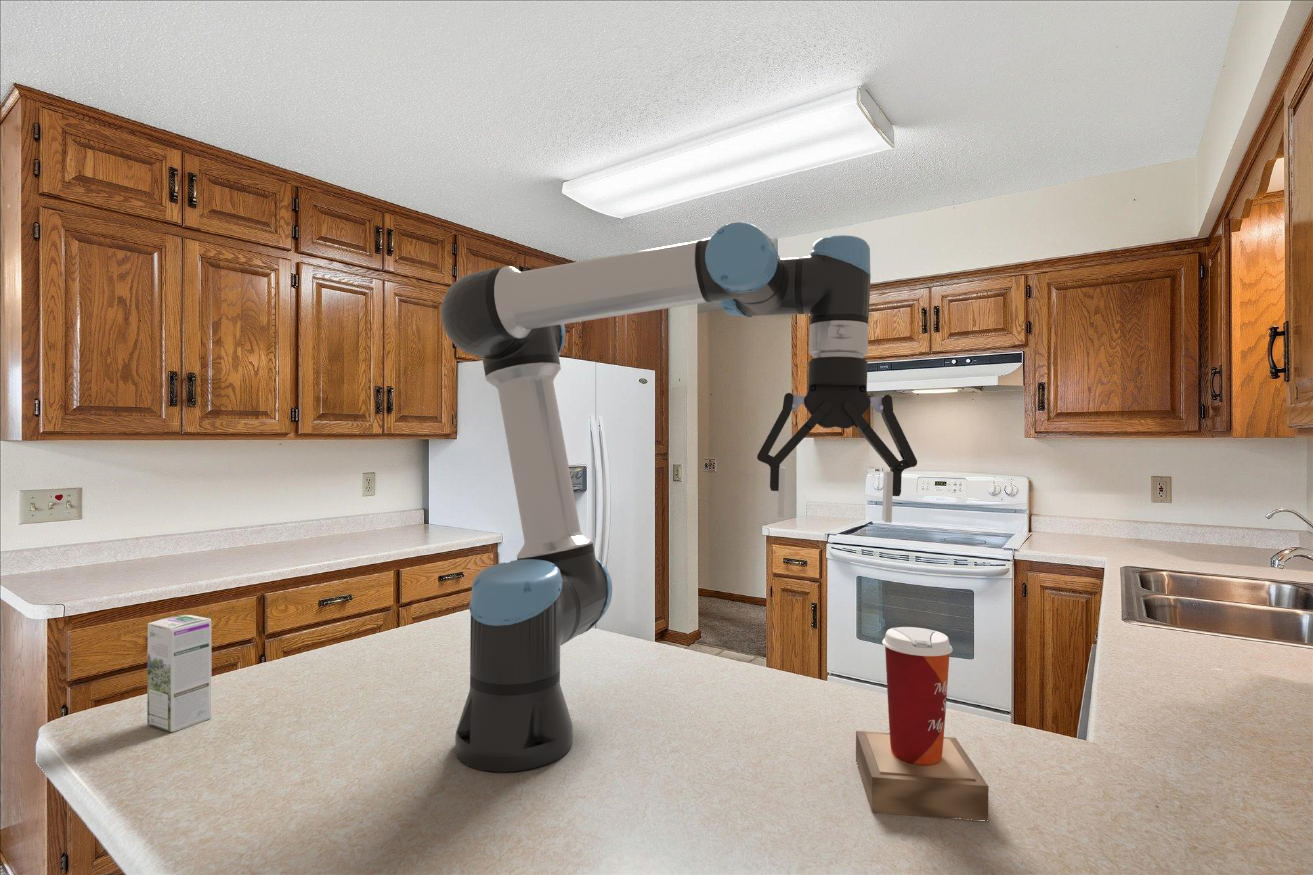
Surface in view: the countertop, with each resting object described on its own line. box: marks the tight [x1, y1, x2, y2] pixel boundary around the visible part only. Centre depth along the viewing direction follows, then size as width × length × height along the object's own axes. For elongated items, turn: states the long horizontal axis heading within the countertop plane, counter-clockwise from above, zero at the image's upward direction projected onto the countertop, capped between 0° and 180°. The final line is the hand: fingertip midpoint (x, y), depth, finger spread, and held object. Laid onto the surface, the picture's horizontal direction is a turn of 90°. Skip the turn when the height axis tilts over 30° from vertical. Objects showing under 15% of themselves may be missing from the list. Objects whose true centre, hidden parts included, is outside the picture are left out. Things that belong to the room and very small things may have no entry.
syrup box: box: [146, 614, 212, 733], centre depth 95 cm, size 6×6×14 cm
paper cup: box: [882, 626, 953, 766], centre depth 79 cm, size 8×8×14 cm
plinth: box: [855, 730, 989, 821], centre depth 79 cm, size 12×12×4 cm
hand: (833, 519), depth 89 cm, fingers open, 13 cm apart
